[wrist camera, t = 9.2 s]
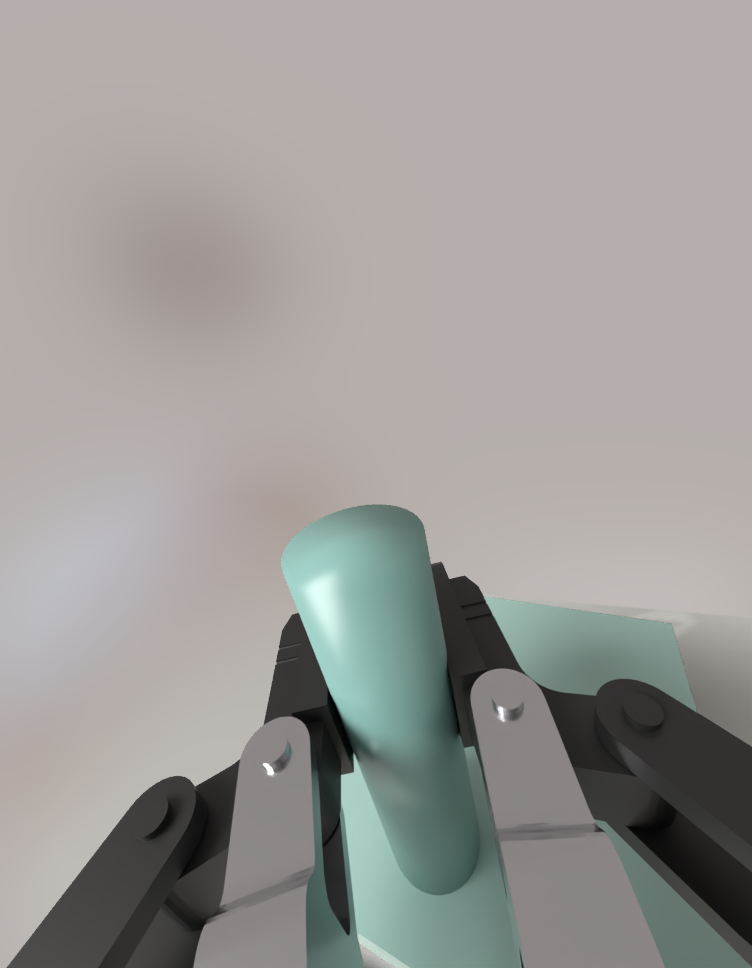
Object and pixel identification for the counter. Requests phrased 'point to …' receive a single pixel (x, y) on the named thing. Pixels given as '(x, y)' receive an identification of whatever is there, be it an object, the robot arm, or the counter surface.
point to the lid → (452, 742)
